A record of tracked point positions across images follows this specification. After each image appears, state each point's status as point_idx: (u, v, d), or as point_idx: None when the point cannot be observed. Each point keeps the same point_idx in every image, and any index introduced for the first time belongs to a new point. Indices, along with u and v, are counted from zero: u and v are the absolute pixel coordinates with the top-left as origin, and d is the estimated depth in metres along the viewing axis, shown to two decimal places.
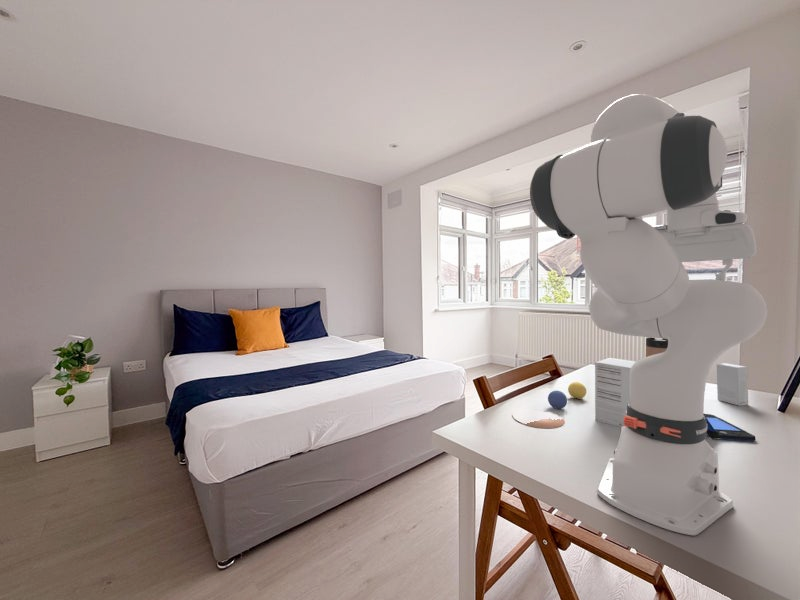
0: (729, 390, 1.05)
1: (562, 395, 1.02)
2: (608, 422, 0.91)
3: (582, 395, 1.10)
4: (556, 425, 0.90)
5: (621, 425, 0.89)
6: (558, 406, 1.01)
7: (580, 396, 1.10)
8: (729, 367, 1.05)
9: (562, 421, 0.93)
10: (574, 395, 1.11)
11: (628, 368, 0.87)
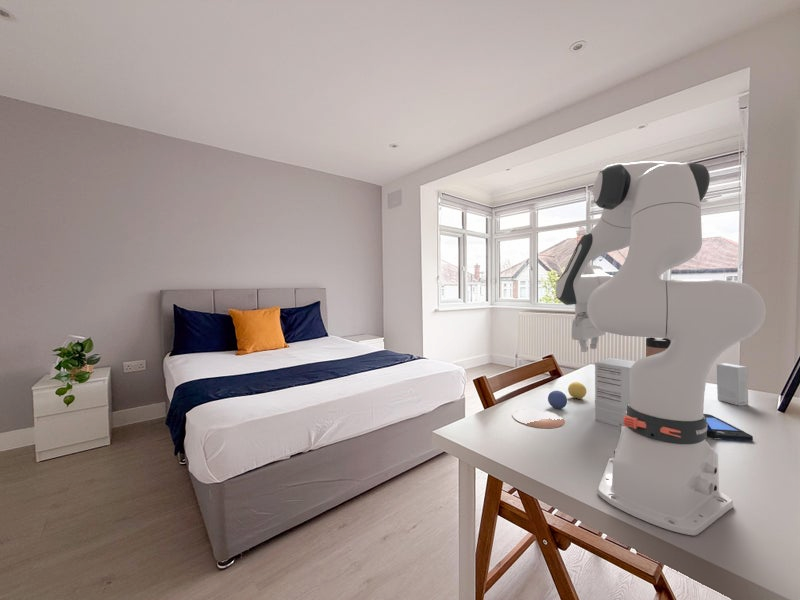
0: (729, 390, 1.05)
1: (562, 395, 1.02)
2: (608, 422, 0.91)
3: (582, 395, 1.10)
4: (556, 425, 0.90)
5: (621, 425, 0.89)
6: (558, 406, 1.01)
7: (580, 396, 1.10)
8: (729, 367, 1.05)
9: (562, 421, 0.93)
10: (574, 395, 1.11)
11: (628, 368, 0.87)
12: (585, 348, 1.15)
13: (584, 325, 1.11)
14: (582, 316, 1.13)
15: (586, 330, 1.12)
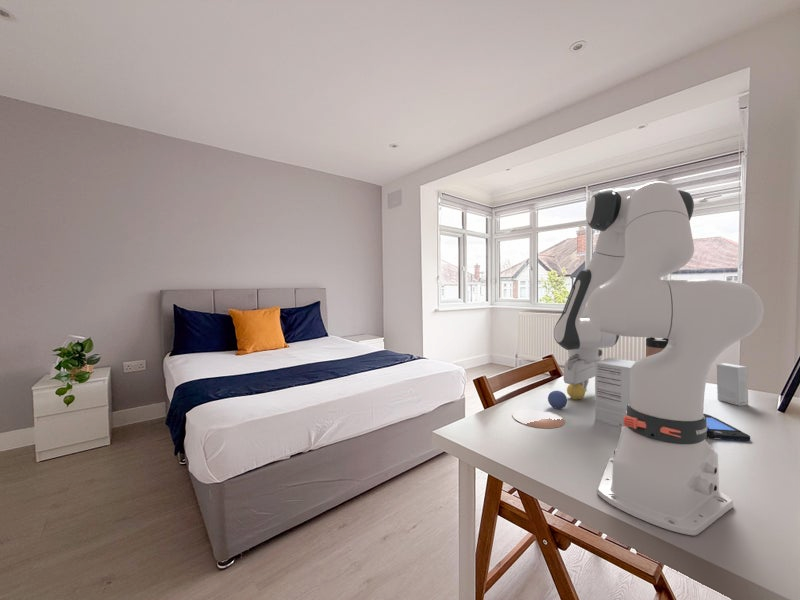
0: (729, 390, 1.05)
1: (562, 395, 1.02)
2: (608, 422, 0.91)
3: (581, 396, 1.10)
4: (556, 425, 0.90)
5: (621, 425, 0.89)
6: (558, 406, 1.01)
7: (580, 397, 1.10)
8: (729, 367, 1.05)
9: (562, 421, 0.93)
10: (574, 397, 1.11)
11: (628, 368, 0.87)
12: None
13: (576, 369, 1.07)
14: (575, 359, 1.10)
15: (579, 374, 1.08)
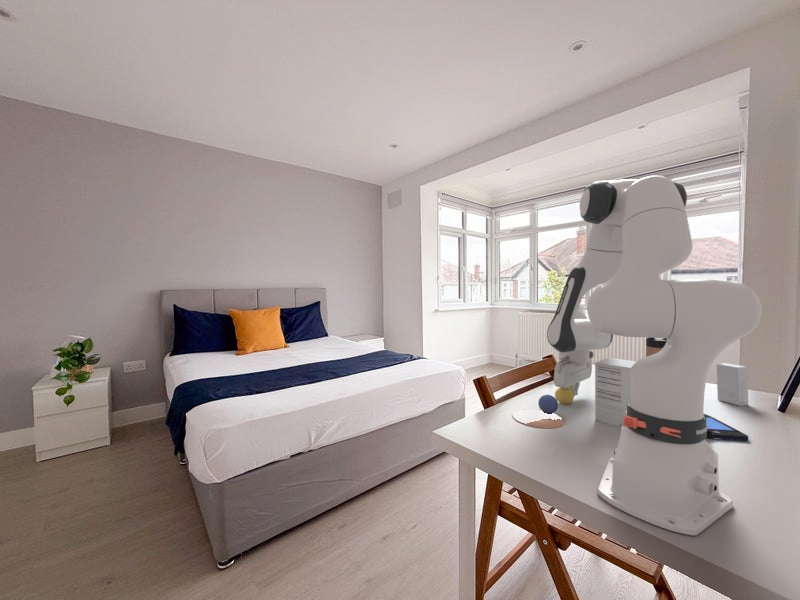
0: (729, 390, 1.05)
1: (552, 412, 0.98)
2: (608, 422, 0.91)
3: (573, 396, 1.06)
4: (556, 425, 0.90)
5: (621, 425, 0.89)
6: None
7: None
8: (729, 367, 1.05)
9: (562, 421, 0.93)
10: None
11: (628, 368, 0.87)
12: (573, 393, 1.09)
13: (567, 372, 1.04)
14: (565, 361, 1.06)
15: (569, 377, 1.05)
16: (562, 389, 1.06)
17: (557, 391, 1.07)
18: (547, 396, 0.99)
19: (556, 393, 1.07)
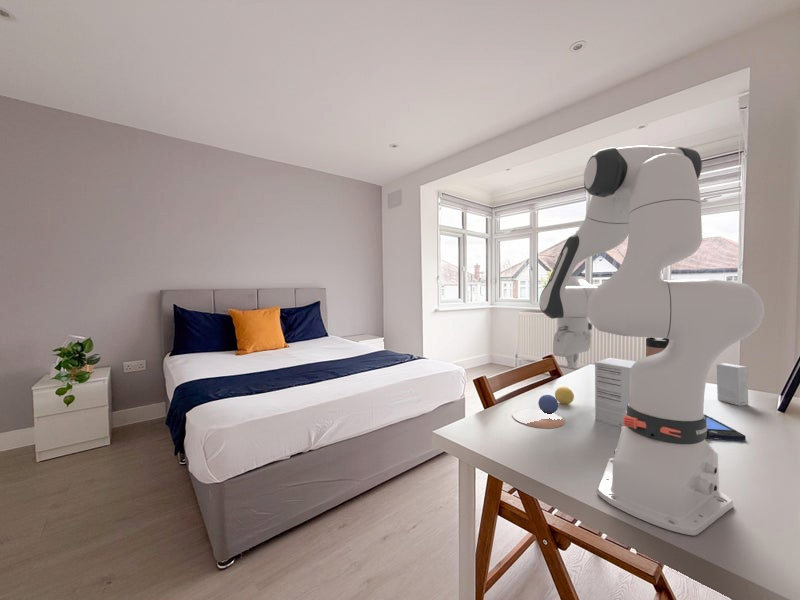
0: (729, 390, 1.05)
1: (552, 412, 0.98)
2: (608, 422, 0.91)
3: (573, 396, 1.06)
4: (556, 425, 0.90)
5: (621, 425, 0.89)
6: None
7: None
8: (729, 367, 1.05)
9: (562, 421, 0.93)
10: None
11: (628, 368, 0.87)
12: (572, 364, 1.08)
13: (566, 340, 1.03)
14: (564, 330, 1.05)
15: (568, 346, 1.04)
16: (562, 389, 1.06)
17: (557, 391, 1.07)
18: (547, 396, 0.99)
19: (556, 393, 1.07)
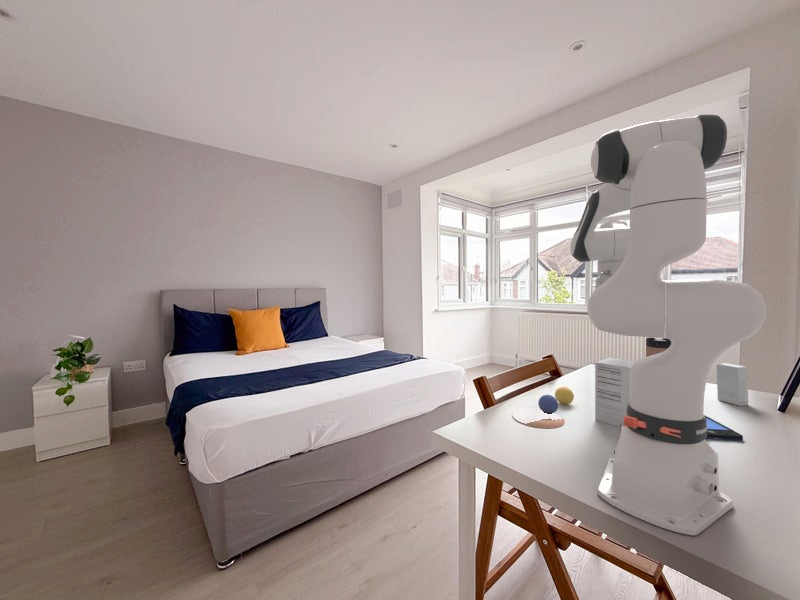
0: (729, 390, 1.05)
1: (552, 412, 0.98)
2: (608, 422, 0.91)
3: (573, 396, 1.06)
4: (556, 425, 0.90)
5: (621, 425, 0.89)
6: None
7: None
8: (729, 367, 1.05)
9: (562, 421, 0.93)
10: None
11: (628, 368, 0.87)
12: None
13: None
14: (606, 274, 1.06)
15: None
16: (562, 389, 1.06)
17: (557, 391, 1.07)
18: (547, 396, 0.99)
19: (556, 393, 1.07)
